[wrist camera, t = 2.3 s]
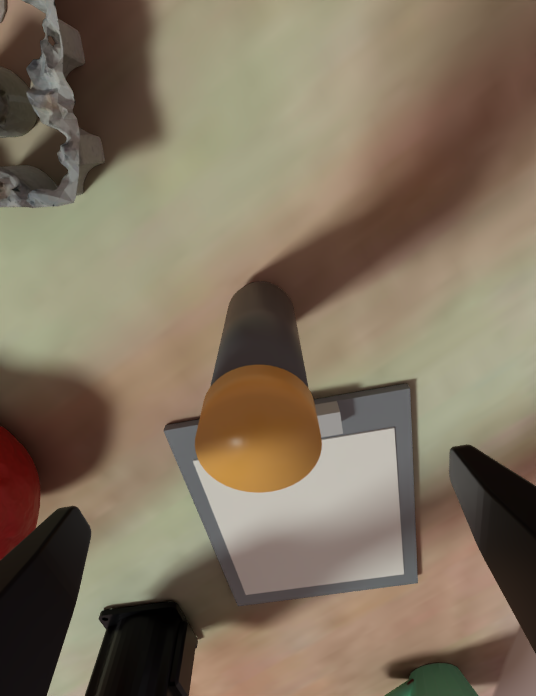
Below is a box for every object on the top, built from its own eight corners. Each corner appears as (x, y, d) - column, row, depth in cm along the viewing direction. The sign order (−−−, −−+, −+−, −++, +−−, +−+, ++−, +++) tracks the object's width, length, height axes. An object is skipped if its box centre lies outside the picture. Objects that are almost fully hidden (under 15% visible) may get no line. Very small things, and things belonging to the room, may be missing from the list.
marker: (235, 344, 20) (213, 500, 11) (219, 282, 18) (178, 407, 10) (299, 332, 20) (329, 482, 11) (288, 268, 18) (311, 384, 9)
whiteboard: (238, 599, 31) (237, 620, 29) (165, 425, 22) (159, 442, 21) (415, 576, 29) (422, 596, 28) (406, 383, 21) (416, 398, 20)
